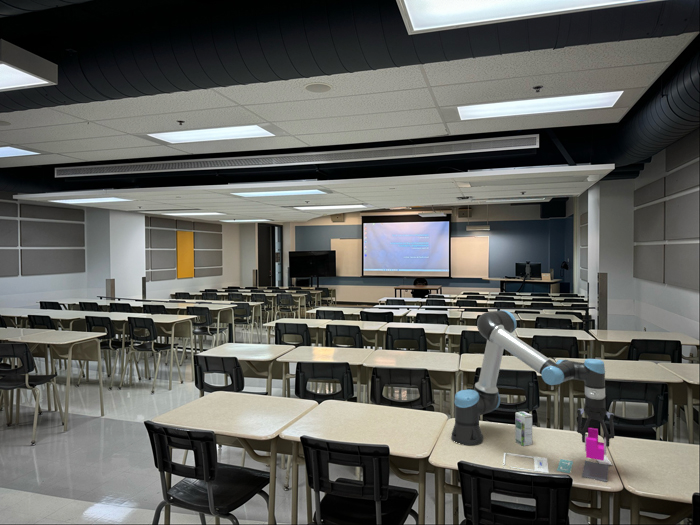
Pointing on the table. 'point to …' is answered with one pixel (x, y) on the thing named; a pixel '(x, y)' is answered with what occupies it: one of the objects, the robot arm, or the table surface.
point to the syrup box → (523, 428)
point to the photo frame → (539, 463)
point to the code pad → (565, 466)
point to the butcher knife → (605, 461)
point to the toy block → (594, 445)
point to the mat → (595, 471)
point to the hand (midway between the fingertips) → (595, 452)
